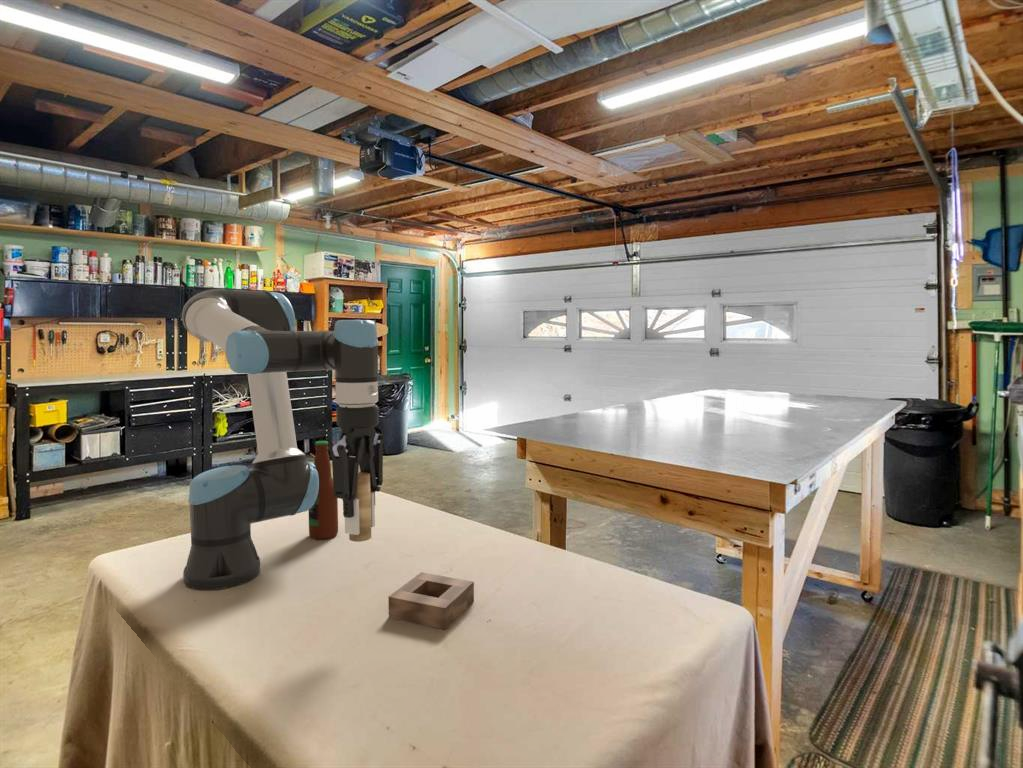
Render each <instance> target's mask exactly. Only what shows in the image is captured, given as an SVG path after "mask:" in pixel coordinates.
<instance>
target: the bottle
mask: <svg viewBox="0 0 1023 768" xmlns="http://www.w3.org/2000/svg"><path fill="white" fill-rule="evenodd" d="M314 444H315V447H314V448H315V449H314V450H315V454H314V463H313V464H314V465H315V467H316V470H317V472H318V477H319V489H318V495H317V498H316V501H315V503H314V505H313V506H312V507H311V508H310V509H309V510H308V534H309V537H310V538H312V539H313V540H319V541H320V540H329V539H332V538H334V537H336V536H337V534H338V533H339V509H338V508H339V505H338V504H339V503H338V502H339V501H338V499H339V498H335V497H334V487H333V477H332V466H331V465H332V463H331V460H330V456H329V452H328V450H329V446H328V445H329V442H328V441H327V440H317V441H315V443H314Z"/></svg>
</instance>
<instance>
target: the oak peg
mask: <svg viewBox="0 0 1023 768" xmlns="http://www.w3.org/2000/svg"><path fill="white" fill-rule="evenodd" d="M349 493H350V492H349ZM356 498H357V499H359V527H360V534H358V535H354V534H348V538H349V539H348V540H349V541H351V542H355V543H356V542H357V543H359V542H365V541H369V540H371V539H372V527H371V489H370V473H367V472H360V471H358V479H357V489H356Z"/></svg>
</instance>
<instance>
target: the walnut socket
mask: <svg viewBox="0 0 1023 768" xmlns="http://www.w3.org/2000/svg"><path fill="white" fill-rule="evenodd" d="M474 601H475V581H471V580H466V579H460V578H456V577H450V576H444V575H437V574H432V573H428V572H419V573H418V574H417V575H415V576H414V577H413V578H411V579H410V580H409V581H407V582H406V583H405V584H404V585H402V586H401V587H400V588H398V589H397V590H395V591H394V592H393V593H391V594H390V595H389V596H388V618H392V619H396V620H400V621H406V622H409V623H414V624H419V625H422V626H428V627H431V628H432V627H433V628H438V629H441V630H442V629H443V630H447V628H448V627H449V626H450V625H451V624H452V623H453V622H455V620H457V618H459V616H461V614H462V613H464V612H465V610H467V609H468V608H469V606H470V605H471V604H473V603H474Z"/></svg>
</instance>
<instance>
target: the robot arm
mask: <svg viewBox="0 0 1023 768" xmlns="http://www.w3.org/2000/svg"><path fill="white" fill-rule="evenodd" d="M295 316H296V314H295V311H294V308H293V306H292V304H291V302H290V300H289V299H288V298H287V297H286V296H285V295H284V294H283V293H280V292H275V291H269V290H246V289H225V288H214V289H213V288H212V289H206V290H204V291H201V292H198V293H197V294H195V295H193V296H191V297H190V298H189V299H188V300H187V301H186V302H185V304H184V305H183V308H182V312H181V321H182V325H183V327H184V328H185V330H186V331H187V332H188V333H189V334H190V335H191V336H193V337H195V338H196V339H197V340H199V341H203V342H209V343H212V344H214V345H215V346H216V347H218V348H219V349H221V350H223V351H224V352H225V358H226V362H227V364H228V366H229V369H230V370H231V371H232V372H233V373H236V374H247V379H248V387H249V394H250V402H251V403H250V404H251V410H252V417H253V425H254V432H255V440H256V447H257V456H256V457H255V458H254V459H253V461H252V470H250V469H249V468H248V466H247V465H242V464H234V465H226V466H220V467H216V468H215V467H214V468H212V469H209V470H206V471H204V472H201V473H199V474H197V475H196V476H195V477H193V478H192V479H191V481H190V483H189V487H188V488H189V490H188V491H189V492H188V499H187V500H188V504H189V517H190V518H189V525H190V541H191V543H190V544H191V545H190V550H189V553H188V556H187V560H186V565H185V567H184V569H183V574H182V575H183V584H184V585H185V587H187V588H189V589H191V590H192V589H193V590H199V591H211V590H221V589H227V588H231V587H235V586H239V585H242V584H244V583H246V582H249V581H251V580H252V579H254V578H256V577H257V576H258V575H259V574H260V572H261V570H262V569H261V567H262V566H261V558H260V556H259V555H258V551H257V549H256V547H255V544H254V541H253V540H252V534H251V532H252V531H251V529H252V527H251V526H252V524H255V523H259V522H260V523H261V522H265V521H269V520H273V519H279V518H285V517H288V516H289V517H290V516H291V517H292V516H295V515H297V514H301V513H303V512H304V513H305V512H308V511H309V509H310V508H311V507H312V506H313V505H314V503H315V501H316V498H317V495H318V489H319V477H318V472H317V470H316V467H315V465H314V463H313V462H312V461H309V460H306V459H307V458H306V453H304V452H303V451H302V450H301V449H299V448H298V445H297V439H296V438H297V436H296V429H295V424H294V422H295V421H294V416H293V408H292V403H291V401H292V400H291V395H290V388H289V380H288V374H287V373H289V372H311V371H313V372H315V371H334V372H335V374H334V375H335V403H336V404H337V405H338V406H337V407H336V408H335V411H336V417H335V418H336V426H337V427H339V429H340V430H341V432H340V435H339V441H338V442H337V443H336V444H333V443H332V444H330V445H329V446H328V448H329V449H328V450H329V453H330V456H331V465H332V466H331V469H332V479H333V487H334V497H335V498H338V499H341V500H342V512H343V513H342V514H343V517H344V534H348V535H349V534H354V535H358V534H360V527H359V499H357V498H356V489H357V479H358V472H367V473H370V489H371V528H374V527H375V526H376V517H375V515H376V513H375V511H376V510H375V509H376V507H375V506H376V492H378V493H379V492H380V491H381V487H380V486H382V485H383V481H384V480H383V478H384V477H383V476H384V475H383V474H384V473H383V472H384V471H383V469H384V463H383V462H384V459H383V458H384V457H383V455H384V452H383V451H384V443H385V437H386V436H385V434H383V433H377V432H376V429H375V427H377V426H378V425H379V423H380V416H379V415H380V414H379V413H380V411H379V410H380V407H379V406H378V405H377V404H376V403H377V402H379V382H378V381H379V379H378V378H379V340H378V339H379V338H378V332H377V331H378V328H377V324H376V322H375V321H373V320H370V319H338V320H337V321H335V323H334V329H333V330H296V326H295V325H296V323H297V322H296V317H295ZM349 492H350V493H349Z"/></svg>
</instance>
